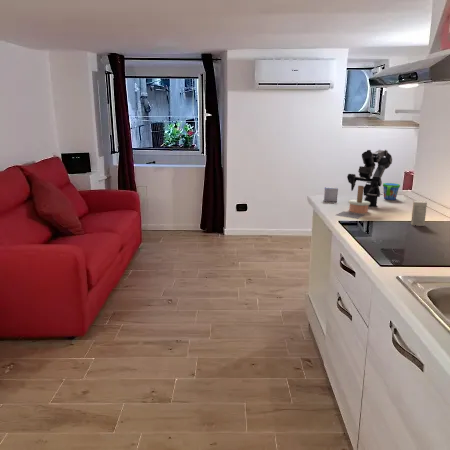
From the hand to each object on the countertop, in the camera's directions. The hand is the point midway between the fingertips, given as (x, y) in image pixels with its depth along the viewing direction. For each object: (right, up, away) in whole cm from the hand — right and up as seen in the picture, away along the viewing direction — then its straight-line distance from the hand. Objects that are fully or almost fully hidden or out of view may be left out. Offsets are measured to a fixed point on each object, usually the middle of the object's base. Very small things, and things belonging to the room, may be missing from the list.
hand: (359, 191), depth 247 cm
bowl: (+1, -11, +4) cm, 12 cm away
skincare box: (+23, -19, -22) cm, 37 cm away
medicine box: (-9, -4, +33) cm, 35 cm away
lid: (+1, -7, +3) cm, 7 cm away
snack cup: (+33, -2, +44) cm, 55 cm away
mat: (-7, -14, -6) cm, 17 cm away
